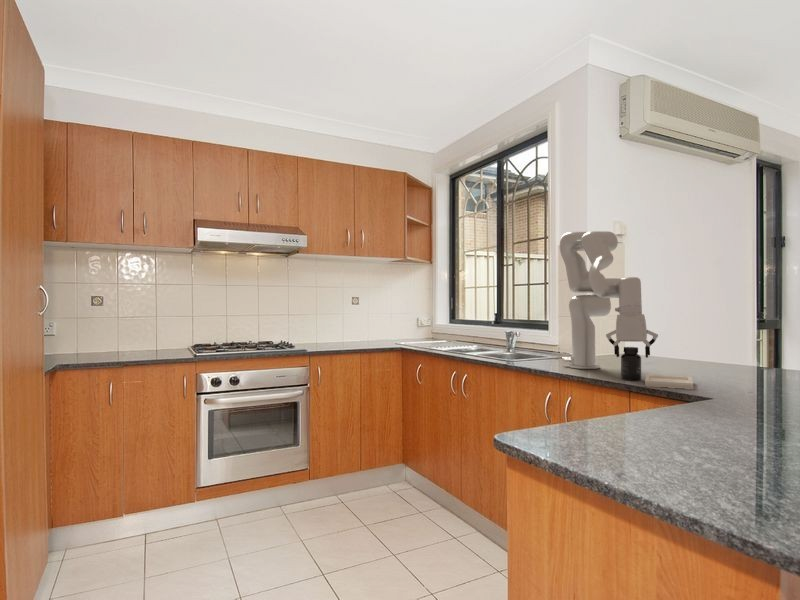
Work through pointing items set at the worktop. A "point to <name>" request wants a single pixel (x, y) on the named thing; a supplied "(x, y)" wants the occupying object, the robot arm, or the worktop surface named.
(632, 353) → the supplement bottle
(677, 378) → the dish
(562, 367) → the worktop surface
